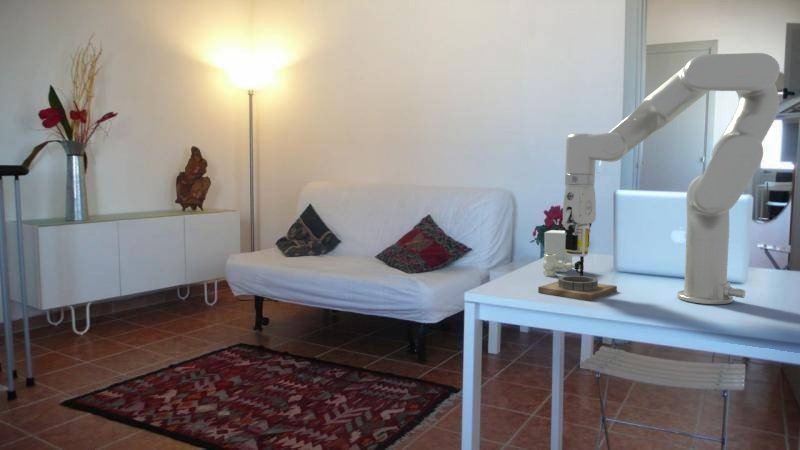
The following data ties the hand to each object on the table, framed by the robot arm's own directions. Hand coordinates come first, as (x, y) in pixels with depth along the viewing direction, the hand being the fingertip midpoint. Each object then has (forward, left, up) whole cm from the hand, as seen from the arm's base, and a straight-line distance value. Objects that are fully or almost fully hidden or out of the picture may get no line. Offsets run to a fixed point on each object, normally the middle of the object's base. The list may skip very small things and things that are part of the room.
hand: (577, 248), depth 163 cm
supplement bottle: (0, 0, -2) cm, 2 cm away
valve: (+14, -19, -12) cm, 27 cm away
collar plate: (0, 0, -12) cm, 12 cm away
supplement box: (+21, -27, -12) cm, 36 cm away
